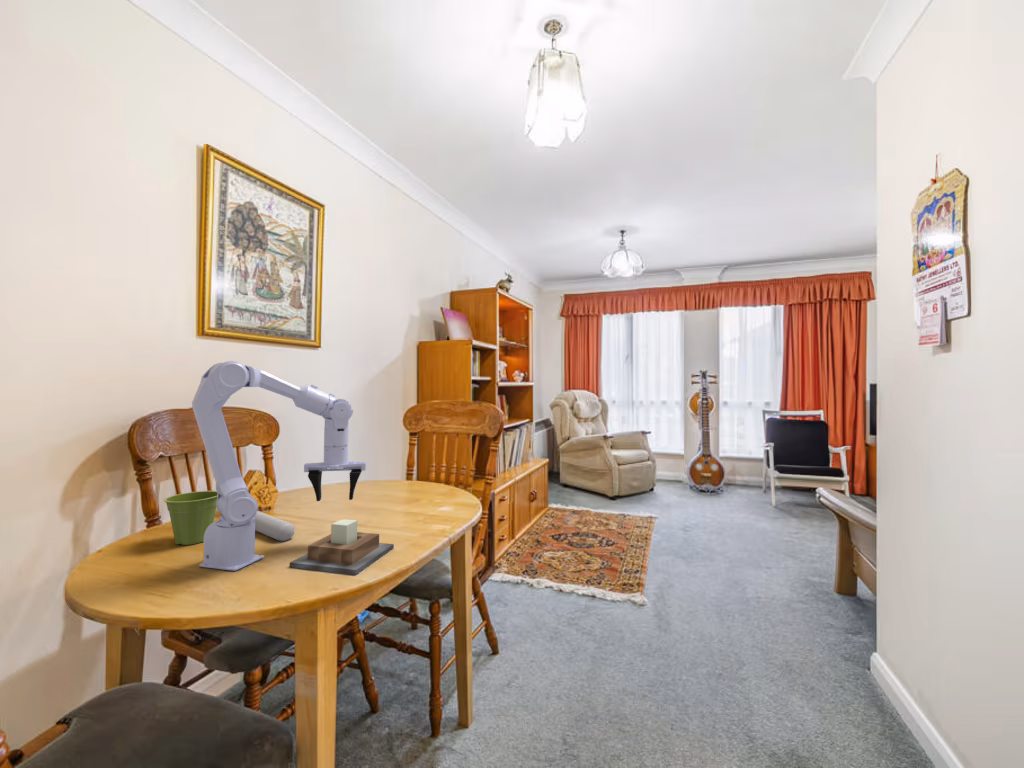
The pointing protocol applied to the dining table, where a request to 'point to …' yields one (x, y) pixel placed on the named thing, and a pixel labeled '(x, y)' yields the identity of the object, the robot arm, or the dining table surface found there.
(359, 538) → the socket
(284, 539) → the tube
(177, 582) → the dining table surface
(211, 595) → the dining table surface
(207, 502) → the plant pot
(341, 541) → the peg
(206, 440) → the robot arm
